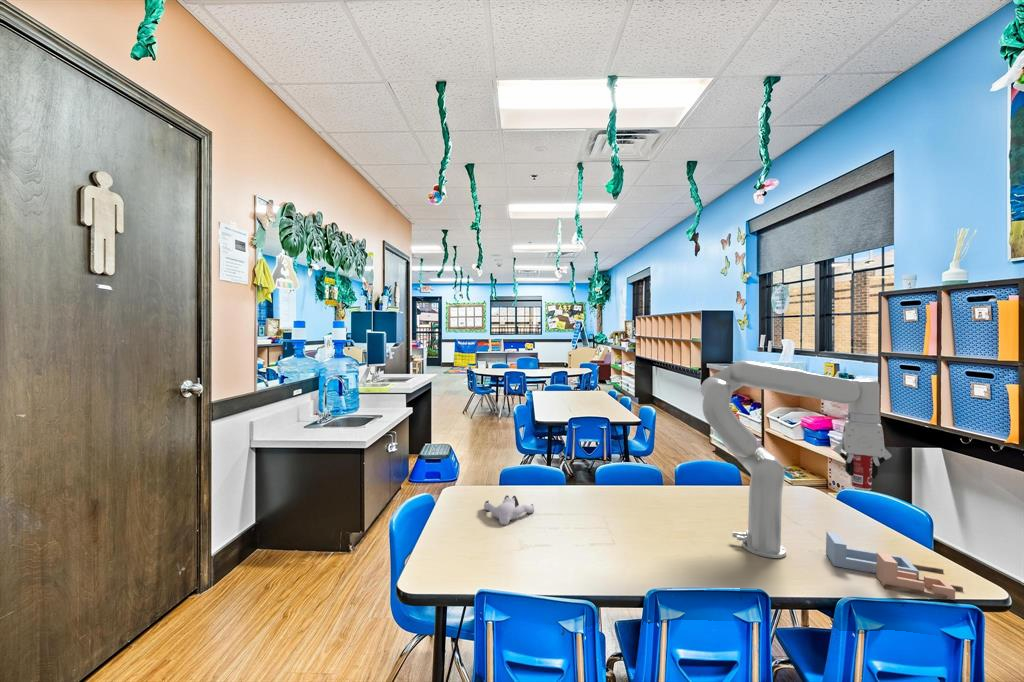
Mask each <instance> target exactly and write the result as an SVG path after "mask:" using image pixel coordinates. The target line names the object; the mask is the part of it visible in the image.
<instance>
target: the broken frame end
mask: <svg viewBox="0 0 1024 682" xmlns="http://www.w3.org/2000/svg"><path fill="white" fill-rule="evenodd" d="M923 580H924V583H925V589H931V593H936V594H941V595H946V596H947V600H953V601H956V590H955V589H954V588H953V587H952V586H951V585H952V584H950V583H949V582H948V581H946V579H943V578H938V577H933V576H928V575H923Z"/></svg>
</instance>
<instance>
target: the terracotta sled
mask: <svg viewBox="0 0 1024 682" xmlns="http://www.w3.org/2000/svg"><path fill="white" fill-rule="evenodd" d="M891 555H892V554H890V553H883V552H877V568H876V573H875V576H876V578H878V580H879V581H880V583H881V584H882V585H883V586H884V585H885V584H887V585H893V586H898V587H903V588H909V589H914V590H920V591H925V589H926V587H925V583H924V582H923V581H918V580H917V575H916V574H915V573H911V572H905V571H899V570H898V563H897V562H896V561H895V560H894V559H893V558H892V556H891Z"/></svg>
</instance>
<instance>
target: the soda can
mask: <svg viewBox="0 0 1024 682" xmlns="http://www.w3.org/2000/svg"><path fill="white" fill-rule="evenodd" d="M872 460H873V457H871V456H866V455H854V456H853V459H852V463H853V475H852V476H850V487H852V488H853V489H856V490H860V491H871V490H872V489H873V488H872V487H873V486H872V483H873V482H872V481H873V478H872Z"/></svg>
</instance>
